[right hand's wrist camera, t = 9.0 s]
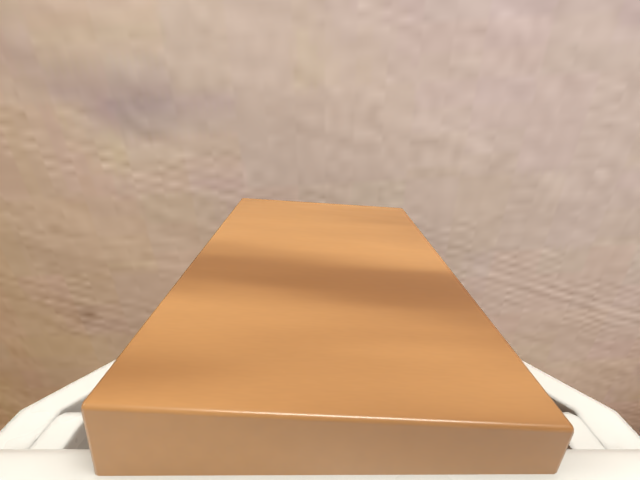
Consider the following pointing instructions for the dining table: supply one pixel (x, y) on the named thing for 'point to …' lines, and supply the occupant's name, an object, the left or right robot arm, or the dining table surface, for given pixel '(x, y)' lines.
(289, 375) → the box
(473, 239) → the dining table surface
